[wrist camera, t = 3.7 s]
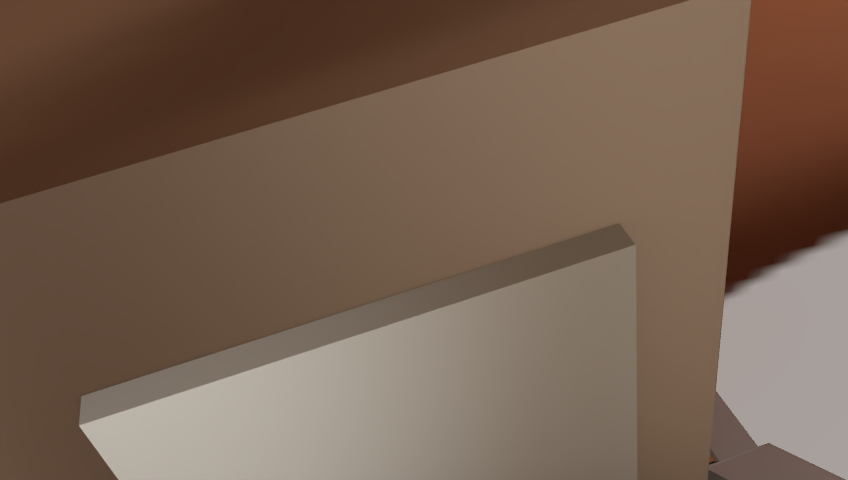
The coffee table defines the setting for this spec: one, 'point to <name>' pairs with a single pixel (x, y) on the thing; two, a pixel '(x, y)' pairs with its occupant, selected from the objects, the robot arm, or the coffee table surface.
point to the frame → (364, 237)
